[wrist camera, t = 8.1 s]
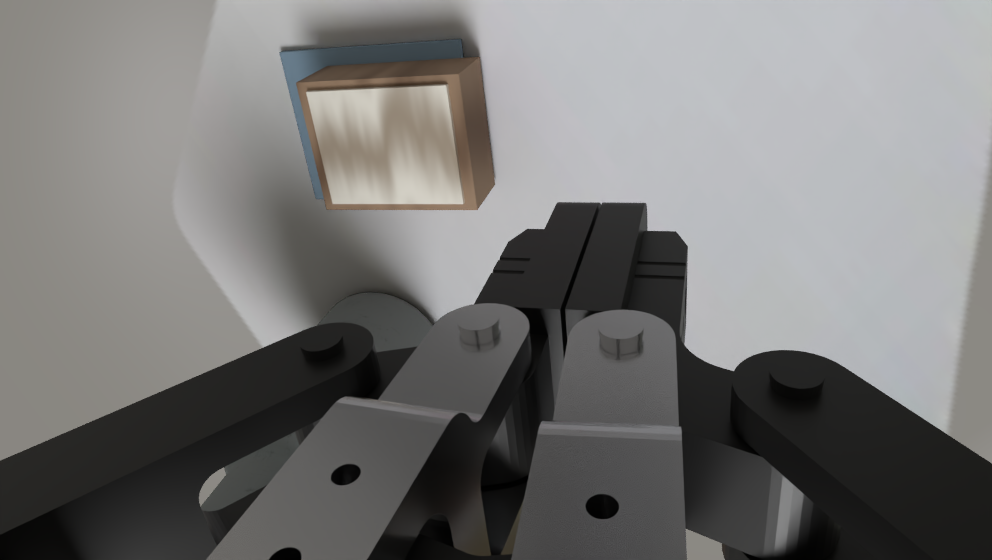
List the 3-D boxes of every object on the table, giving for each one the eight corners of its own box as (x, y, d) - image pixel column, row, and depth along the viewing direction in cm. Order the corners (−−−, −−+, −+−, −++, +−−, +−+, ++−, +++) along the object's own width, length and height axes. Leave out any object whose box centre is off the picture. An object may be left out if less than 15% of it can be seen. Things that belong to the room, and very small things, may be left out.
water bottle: (405, 267, 52) (146, 603, 29) (475, 372, 55) (292, 752, 32) (305, 312, 57) (12, 632, 33) (374, 406, 60) (150, 760, 36)
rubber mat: (282, 51, 46) (279, 52, 46) (461, 39, 43) (459, 40, 43) (318, 196, 51) (315, 199, 51) (481, 196, 48) (480, 199, 47)
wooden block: (479, 56, 43) (327, 65, 46) (457, 75, 39) (293, 83, 42) (495, 184, 46) (353, 185, 49) (475, 212, 43) (324, 211, 46)
